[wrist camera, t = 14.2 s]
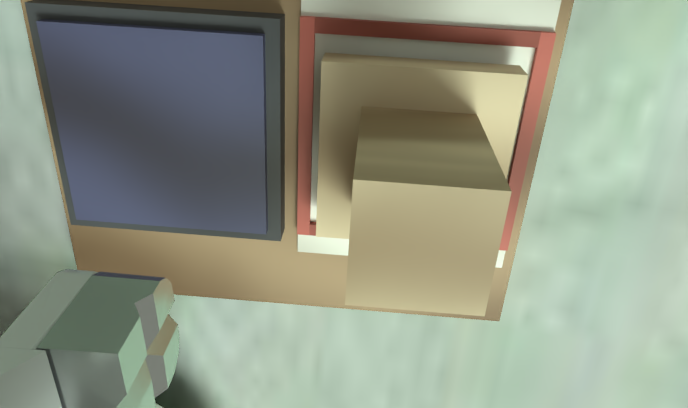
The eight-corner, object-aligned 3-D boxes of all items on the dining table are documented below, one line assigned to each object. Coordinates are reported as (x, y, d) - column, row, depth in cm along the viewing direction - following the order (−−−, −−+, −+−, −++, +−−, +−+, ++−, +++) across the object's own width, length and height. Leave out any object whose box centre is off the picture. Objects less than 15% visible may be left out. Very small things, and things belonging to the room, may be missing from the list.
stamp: (327, 48, 15) (296, 120, 10) (515, 60, 15) (585, 141, 10) (320, 212, 18) (293, 339, 13) (483, 224, 18) (525, 359, 12)
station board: (19, -131, 15) (-37, -138, 13) (581, -99, 14) (614, -101, 12) (96, 267, 21) (65, 305, 19) (493, 300, 21) (505, 342, 19)
